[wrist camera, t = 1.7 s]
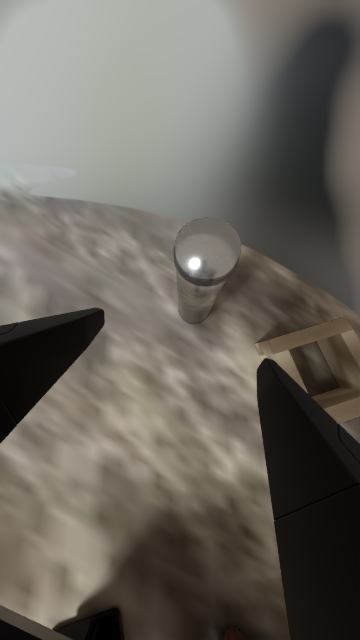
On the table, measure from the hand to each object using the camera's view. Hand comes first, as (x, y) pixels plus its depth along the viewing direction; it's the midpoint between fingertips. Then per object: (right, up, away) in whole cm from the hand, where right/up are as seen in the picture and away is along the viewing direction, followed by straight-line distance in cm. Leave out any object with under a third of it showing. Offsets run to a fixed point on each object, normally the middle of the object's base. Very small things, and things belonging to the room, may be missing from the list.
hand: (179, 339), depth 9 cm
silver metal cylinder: (+2, +2, +13) cm, 13 cm away
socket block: (+15, -5, +11) cm, 19 cm away
